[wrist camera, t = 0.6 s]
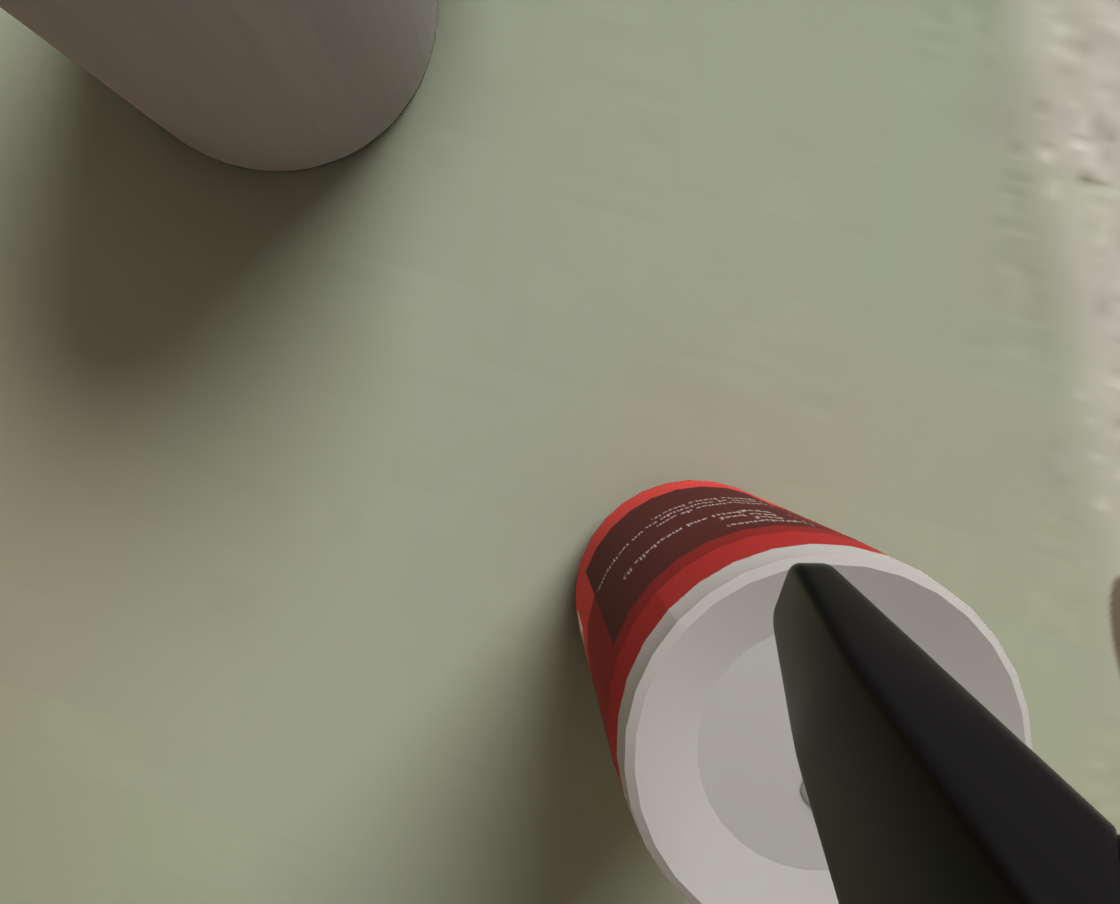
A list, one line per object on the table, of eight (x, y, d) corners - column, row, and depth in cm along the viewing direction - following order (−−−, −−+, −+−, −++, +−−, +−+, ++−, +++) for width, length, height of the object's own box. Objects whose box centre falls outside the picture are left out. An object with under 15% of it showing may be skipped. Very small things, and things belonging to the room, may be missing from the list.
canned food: (740, 741, 25) (919, 1020, 14) (530, 643, 24) (544, 856, 13) (846, 541, 24) (1115, 666, 13) (635, 436, 24) (740, 478, 13)
